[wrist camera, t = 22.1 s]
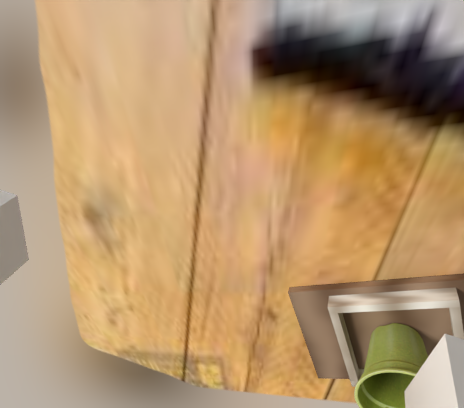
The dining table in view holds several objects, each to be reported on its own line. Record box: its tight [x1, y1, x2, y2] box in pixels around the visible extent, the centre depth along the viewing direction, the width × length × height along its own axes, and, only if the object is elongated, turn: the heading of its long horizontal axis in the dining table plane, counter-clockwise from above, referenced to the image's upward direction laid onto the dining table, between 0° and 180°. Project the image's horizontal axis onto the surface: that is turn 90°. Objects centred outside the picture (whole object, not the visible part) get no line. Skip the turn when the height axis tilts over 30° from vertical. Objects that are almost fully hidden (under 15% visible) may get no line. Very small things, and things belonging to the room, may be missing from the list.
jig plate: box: [288, 274, 464, 386], centre depth 50 cm, size 24×16×3 cm, turn 110°
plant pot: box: [354, 323, 428, 408], centre depth 47 cm, size 9×9×9 cm
